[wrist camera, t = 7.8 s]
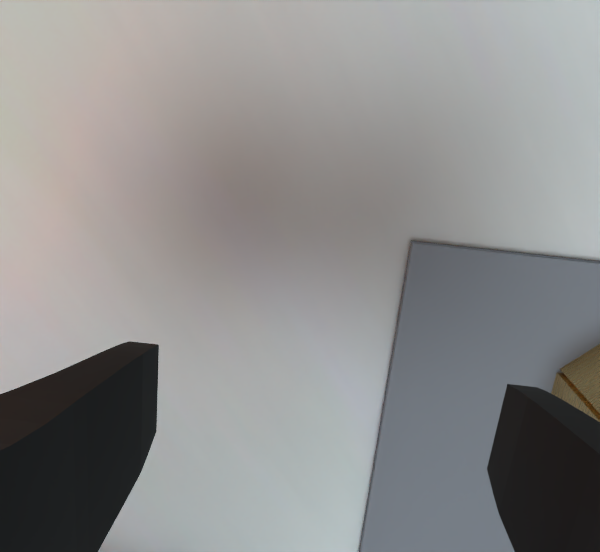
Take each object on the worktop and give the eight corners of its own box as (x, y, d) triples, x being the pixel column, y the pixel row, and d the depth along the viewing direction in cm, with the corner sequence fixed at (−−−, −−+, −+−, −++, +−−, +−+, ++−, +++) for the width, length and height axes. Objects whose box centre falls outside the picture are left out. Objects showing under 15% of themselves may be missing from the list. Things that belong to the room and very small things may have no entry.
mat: (645, 596, 25) (650, 604, 24) (357, 563, 25) (357, 570, 24) (764, 279, 20) (772, 282, 20) (410, 240, 20) (412, 243, 20)
